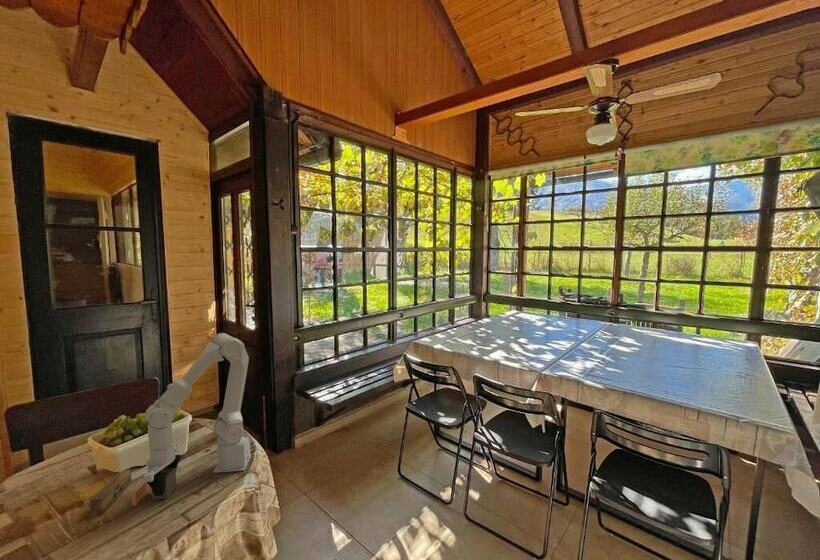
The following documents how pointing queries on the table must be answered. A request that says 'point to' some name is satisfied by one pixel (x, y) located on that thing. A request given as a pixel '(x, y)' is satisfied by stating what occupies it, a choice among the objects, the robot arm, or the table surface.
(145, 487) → the orange flat block
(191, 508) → the table surface
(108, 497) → the socket housing
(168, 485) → the plug
